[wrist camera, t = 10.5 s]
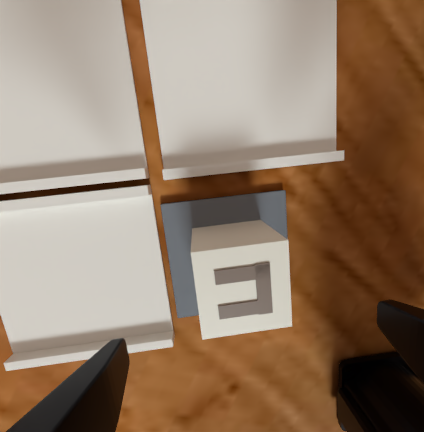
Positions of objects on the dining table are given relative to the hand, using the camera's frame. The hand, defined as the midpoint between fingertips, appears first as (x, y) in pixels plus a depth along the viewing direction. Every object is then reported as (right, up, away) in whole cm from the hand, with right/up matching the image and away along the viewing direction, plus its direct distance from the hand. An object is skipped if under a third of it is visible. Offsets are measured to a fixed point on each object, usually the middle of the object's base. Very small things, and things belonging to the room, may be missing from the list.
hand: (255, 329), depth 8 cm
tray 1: (-11, +11, +5) cm, 17 cm away
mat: (0, +1, +8) cm, 8 cm away
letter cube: (0, +1, +7) cm, 7 cm away
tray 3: (0, +12, +6) cm, 14 cm away
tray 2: (-10, 0, +7) cm, 13 cm away
